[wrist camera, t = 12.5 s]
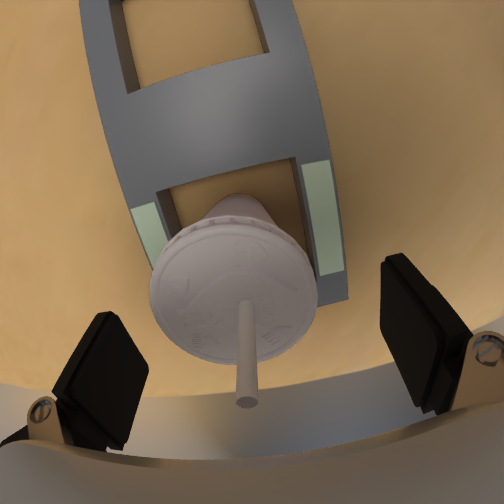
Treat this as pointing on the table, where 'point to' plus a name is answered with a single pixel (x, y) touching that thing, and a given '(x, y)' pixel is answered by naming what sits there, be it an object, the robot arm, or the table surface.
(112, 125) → the dock
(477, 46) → the table surface
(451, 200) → the table surface
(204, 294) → the smoothie
